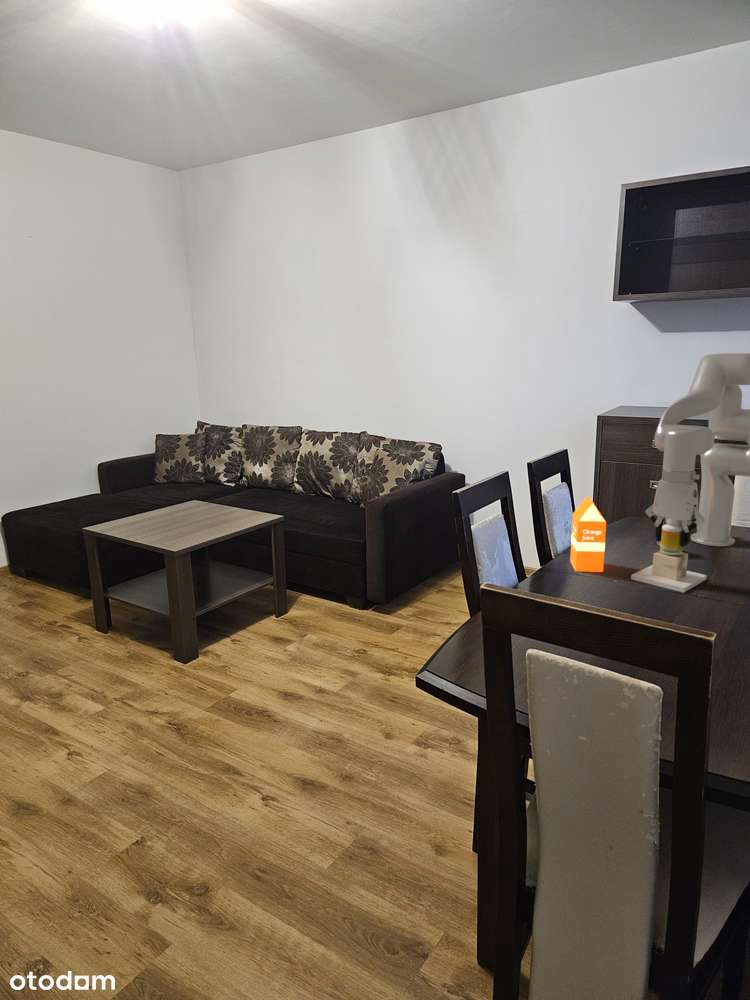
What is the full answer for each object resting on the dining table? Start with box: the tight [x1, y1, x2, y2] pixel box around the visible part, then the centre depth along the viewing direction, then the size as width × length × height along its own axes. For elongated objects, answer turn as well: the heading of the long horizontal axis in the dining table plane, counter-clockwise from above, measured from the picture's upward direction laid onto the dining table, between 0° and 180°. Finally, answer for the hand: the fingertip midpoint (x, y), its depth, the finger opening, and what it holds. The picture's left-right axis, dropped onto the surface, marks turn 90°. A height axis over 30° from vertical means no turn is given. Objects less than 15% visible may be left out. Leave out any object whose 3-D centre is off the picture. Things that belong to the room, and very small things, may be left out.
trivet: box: [630, 564, 708, 594], centre depth 172 cm, size 14×14×1 cm
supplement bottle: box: [659, 518, 684, 555], centre depth 170 cm, size 5×5×10 cm
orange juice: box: [569, 495, 607, 573], centre depth 182 cm, size 8×9×20 cm
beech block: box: [652, 550, 689, 581], centre depth 172 cm, size 6×6×6 cm
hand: (671, 542), depth 170 cm, fingers open, 5 cm apart
